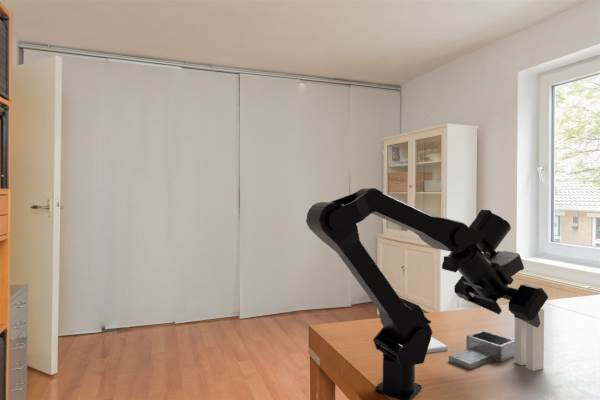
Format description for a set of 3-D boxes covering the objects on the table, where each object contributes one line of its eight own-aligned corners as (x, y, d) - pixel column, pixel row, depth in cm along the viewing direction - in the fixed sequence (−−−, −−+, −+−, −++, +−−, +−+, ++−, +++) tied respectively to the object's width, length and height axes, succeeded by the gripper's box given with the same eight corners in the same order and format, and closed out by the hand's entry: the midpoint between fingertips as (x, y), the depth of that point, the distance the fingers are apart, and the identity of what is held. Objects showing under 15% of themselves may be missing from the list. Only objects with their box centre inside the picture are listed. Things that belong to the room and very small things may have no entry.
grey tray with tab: (476, 372, 80) (477, 355, 80) (442, 358, 86) (442, 343, 86) (518, 355, 89) (518, 339, 89) (484, 343, 95) (484, 329, 95)
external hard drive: (447, 353, 91) (399, 358, 88) (427, 340, 99) (381, 345, 96) (447, 346, 91) (399, 351, 88) (427, 334, 99) (382, 338, 96)
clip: (532, 370, 80) (533, 309, 80) (514, 362, 85) (514, 304, 84) (543, 368, 81) (544, 308, 81) (524, 360, 86) (525, 302, 86)
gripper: (540, 244, 71) (583, 299, 75) (464, 234, 89) (502, 280, 93) (507, 291, 69) (553, 346, 72) (435, 272, 86) (475, 317, 90)
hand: (518, 318), depth 82 cm, fingers open, 9 cm apart
